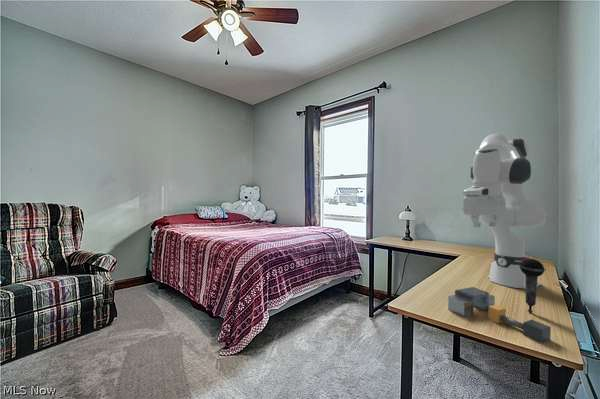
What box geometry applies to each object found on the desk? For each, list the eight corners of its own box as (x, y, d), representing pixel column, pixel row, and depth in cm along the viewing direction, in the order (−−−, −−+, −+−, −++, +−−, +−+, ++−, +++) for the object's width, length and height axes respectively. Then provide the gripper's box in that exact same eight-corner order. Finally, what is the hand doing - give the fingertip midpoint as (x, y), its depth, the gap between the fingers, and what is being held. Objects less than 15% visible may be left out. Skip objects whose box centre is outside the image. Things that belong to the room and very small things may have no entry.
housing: (477, 302, 98) (478, 285, 98) (494, 309, 92) (494, 291, 92) (448, 309, 92) (448, 291, 92) (463, 316, 86) (464, 297, 86)
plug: (495, 317, 86) (496, 304, 86) (550, 340, 73) (550, 325, 73) (487, 319, 85) (488, 306, 85) (541, 343, 71) (542, 328, 71)
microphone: (542, 312, 90) (544, 258, 90) (544, 319, 85) (546, 262, 85) (517, 306, 95) (519, 255, 94) (517, 312, 90) (519, 258, 89)
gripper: (493, 191, 101) (492, 224, 101) (460, 190, 93) (459, 226, 94) (511, 191, 95) (510, 226, 95) (477, 190, 88) (476, 228, 88)
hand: (484, 226), depth 94 cm, fingers open, 8 cm apart
